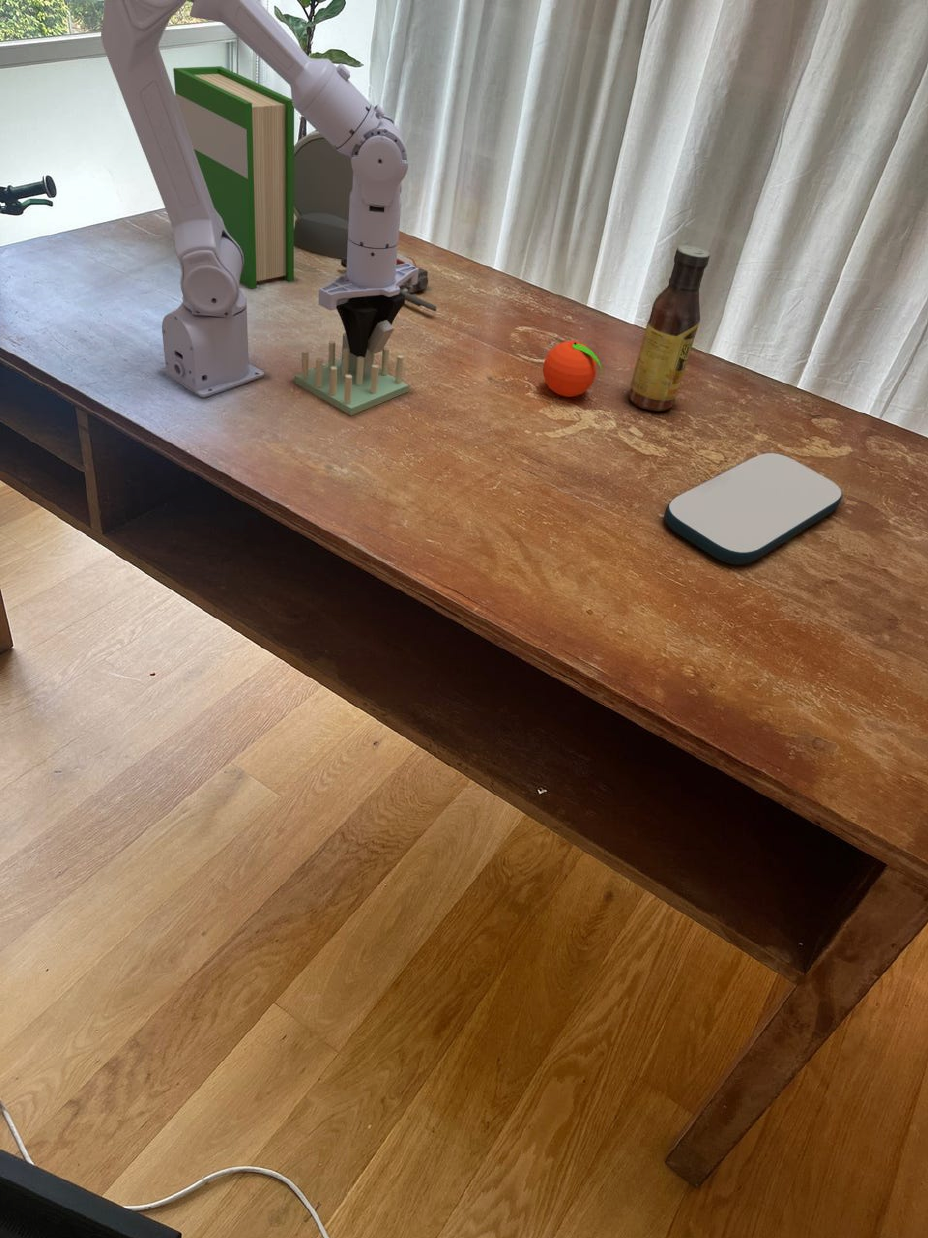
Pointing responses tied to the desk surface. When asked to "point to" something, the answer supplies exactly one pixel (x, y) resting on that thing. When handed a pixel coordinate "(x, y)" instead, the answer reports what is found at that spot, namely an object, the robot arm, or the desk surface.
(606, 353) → the desk surface
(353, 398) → the dish rack
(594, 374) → the clementine
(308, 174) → the alarm clock
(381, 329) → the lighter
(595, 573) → the desk surface
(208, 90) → the hardback book
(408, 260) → the walkie-talkie
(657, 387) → the sauce bottle
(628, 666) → the desk surface
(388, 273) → the robot arm
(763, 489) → the external hard drive
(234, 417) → the desk surface
